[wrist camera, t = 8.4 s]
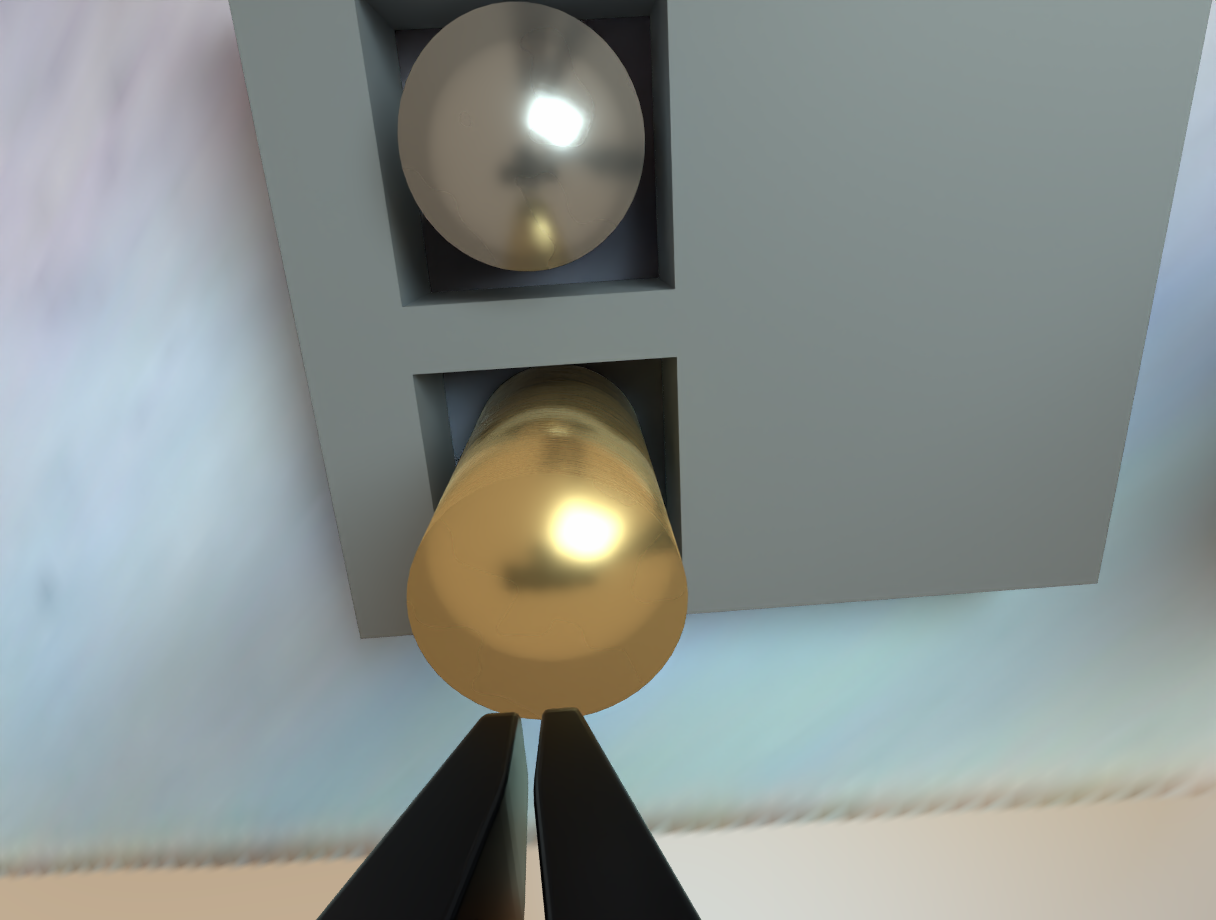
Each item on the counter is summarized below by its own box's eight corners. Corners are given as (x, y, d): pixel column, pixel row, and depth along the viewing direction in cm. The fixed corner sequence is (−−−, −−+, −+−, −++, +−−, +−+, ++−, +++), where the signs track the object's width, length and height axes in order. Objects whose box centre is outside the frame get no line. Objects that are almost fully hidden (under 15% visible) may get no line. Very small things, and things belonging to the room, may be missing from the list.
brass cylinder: (637, 357, 18) (684, 463, 10) (645, 514, 19) (691, 708, 12) (465, 369, 18) (383, 486, 10) (486, 526, 19) (429, 729, 12)
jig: (1111, -48, 15) (1233, -109, 12) (1022, 531, 20) (1097, 583, 17) (285, -2, 15) (217, -54, 12) (391, 577, 19) (360, 638, 17)
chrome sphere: (623, 48, 16) (638, -7, 12) (633, 253, 17) (650, 263, 13) (426, 61, 15) (378, 9, 12) (453, 266, 17) (418, 279, 13)
